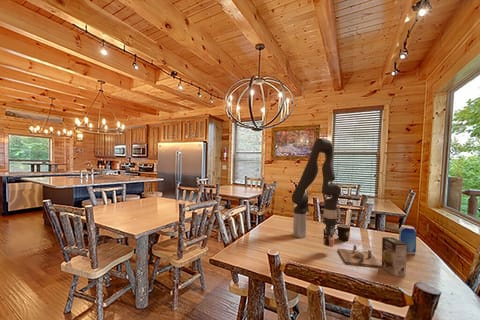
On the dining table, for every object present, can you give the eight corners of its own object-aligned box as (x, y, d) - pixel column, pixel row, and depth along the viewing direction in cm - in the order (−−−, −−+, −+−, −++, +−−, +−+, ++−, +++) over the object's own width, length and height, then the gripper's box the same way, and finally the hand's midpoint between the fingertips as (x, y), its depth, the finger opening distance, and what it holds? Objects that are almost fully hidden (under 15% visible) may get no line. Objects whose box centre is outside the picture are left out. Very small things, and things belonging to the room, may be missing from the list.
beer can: (412, 250, 137) (412, 225, 137) (418, 255, 129) (418, 229, 129) (396, 248, 140) (397, 224, 140) (401, 253, 132) (402, 227, 132)
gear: (322, 244, 130) (322, 237, 130) (325, 242, 135) (325, 235, 135) (331, 247, 127) (332, 240, 127) (334, 244, 131) (335, 237, 131)
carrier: (345, 263, 117) (346, 254, 117) (337, 250, 135) (337, 242, 135) (382, 268, 113) (382, 258, 113) (369, 253, 131) (369, 245, 131)
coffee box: (381, 266, 115) (381, 236, 115) (392, 266, 115) (392, 236, 115) (394, 276, 106) (395, 243, 106) (406, 275, 106) (407, 243, 106)
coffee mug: (347, 237, 158) (347, 224, 158) (352, 242, 149) (352, 228, 149) (330, 237, 159) (331, 223, 159) (334, 241, 150) (335, 227, 150)
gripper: (327, 213, 138) (326, 238, 139) (319, 217, 127) (318, 245, 128) (339, 215, 133) (338, 242, 134) (332, 220, 123) (331, 249, 123)
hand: (328, 243), depth 131 cm, fingers closed on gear, 5 cm apart
